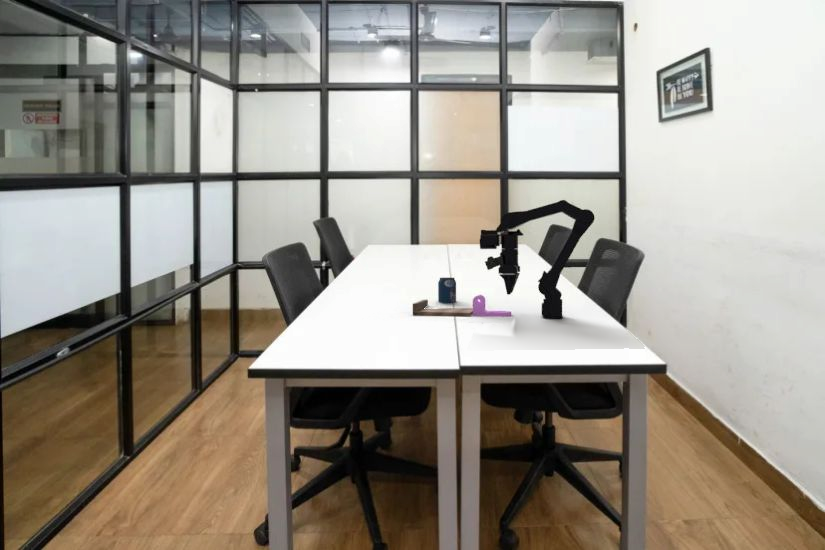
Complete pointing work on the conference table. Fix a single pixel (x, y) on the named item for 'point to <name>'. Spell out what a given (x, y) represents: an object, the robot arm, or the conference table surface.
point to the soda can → (447, 290)
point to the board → (439, 310)
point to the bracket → (480, 308)
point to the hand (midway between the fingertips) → (509, 293)
